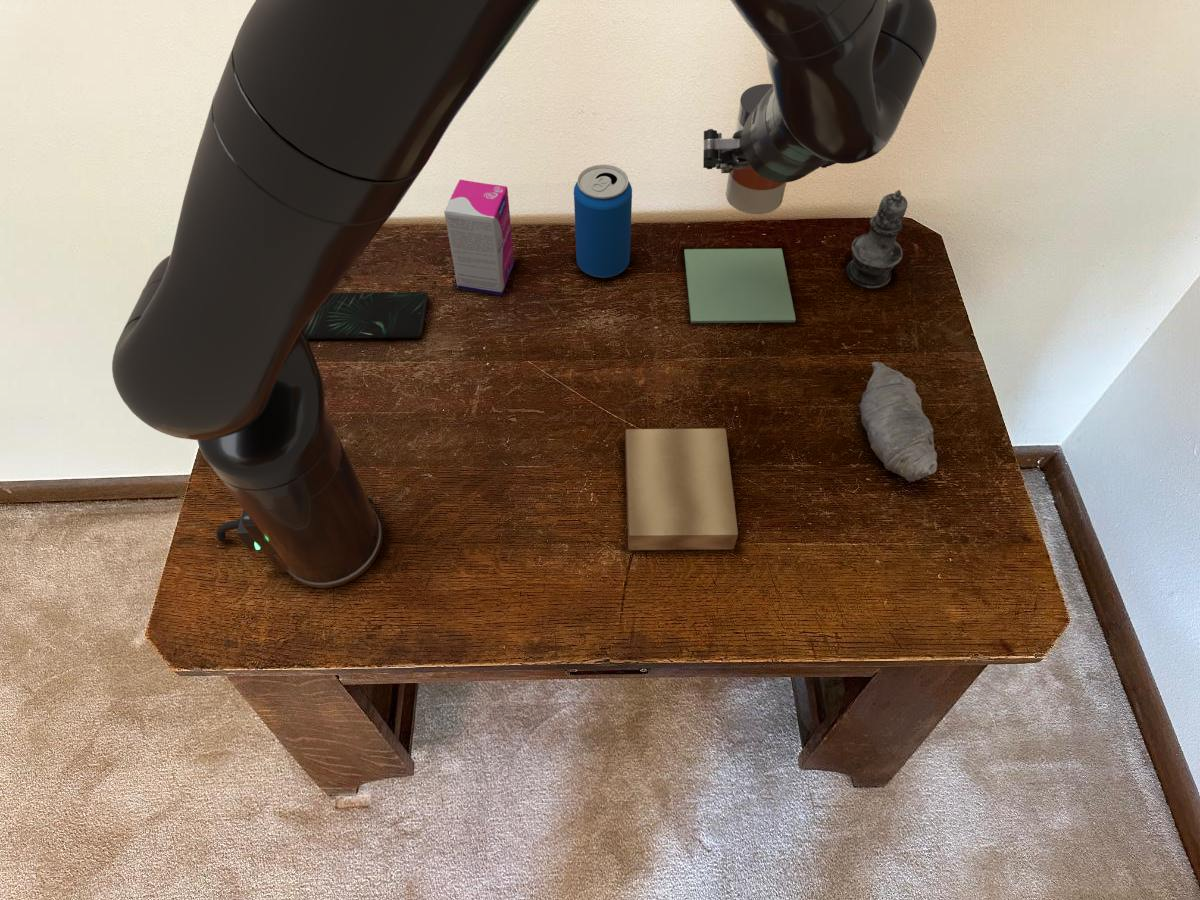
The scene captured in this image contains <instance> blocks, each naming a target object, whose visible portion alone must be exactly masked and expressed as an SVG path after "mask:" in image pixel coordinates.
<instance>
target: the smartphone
mask: <svg viewBox="0 0 1200 900" xmlns="http://www.w3.org/2000/svg"><path fill="white" fill-rule="evenodd" d="M428 301H429V293H428V292H427V291H389V292H388V291H379V292H377V291H376V292H375V291H374V292H373V291H372V292H370V291H369V292H332V293H331V294H330V295H329V297H328V298H327V299H326V300H325V301H324V303H323V304H322V305H321V306H320V307H319V309H318V310H317V311H316V312H315V313H314V315H313V316H312V317H311V318H310V320H309V321H308V322H307V324H306V325H305V326H304V328H303V329H304V332H305V334H306V337H307V339H308V340H327V339H329V340H331V339H335V340H337V339H339V340H340V339H409V338H421V337H422V336H423V330H424V324H425V319H426V314H427V306H428Z"/></svg>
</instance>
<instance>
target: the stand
mask: <svg viewBox="0 0 1200 900" xmlns="http://www.w3.org/2000/svg"><path fill="white" fill-rule="evenodd" d="M624 435H625V436H624V437H625V438H624V439H625V440H624V451H625V452H624V454H625V455H624V457H625V458H624V459H625V489H626V490H625V491H626V522H627V524H626V525H627V526H626V527H627V550H628V551H685V550H687V551H688V550H689V551H690V550H691V551H695V550H696V551H697V550H699V551H701V550H702V551H703V550H705V551H706V550H734V549H735V547H736V543H737V539H738V537H739V528H738V520H737V513H736V503H735V494H734V486H733V479H732V478H733V477H732V471H731V470H732V469H731V462H730V453H729V445H728V437H727V436H728V435H727V429H726V428H725V427H724V428H723V427H722V428H721V427H719V428H717V427H715V428H626V429H625V434H624Z"/></svg>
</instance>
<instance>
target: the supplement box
mask: <svg viewBox="0 0 1200 900" xmlns="http://www.w3.org/2000/svg"><path fill="white" fill-rule="evenodd" d="M508 189H509V188H508V186H506V185H500V184H492V183H484V182H479V181H473V180H466V179H459V180H458V182H457V184H456V186H455V187H454V190H453V192H452V194H451V197H450V198H449V200H448V201H447V202H448V203H447V205H446V207H445V209H444V211H443V212H444V218H445V223H446V229H447V230H446V231H447V235H448V241H449V246H450V252H451V258H452V264H453V269H454V275H455V283H456V288H457V289H458V290H464V291H473V292H478V293H486V294H489V295H490V294H491V295H496V296H497V295H498V296H503V294H504V291H505V287H506V284H507V282H508V279H509V277H510V274H511V272H512V269H513V268H514V266H515V256H514V245H513V235H512V226H511V225H512V223H511V213H510V201H509V192H508Z"/></svg>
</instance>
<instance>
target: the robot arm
mask: <svg viewBox="0 0 1200 900" xmlns="http://www.w3.org/2000/svg"><path fill="white" fill-rule="evenodd" d="M540 1H541V0H255V1H254V3H253V4H252V6H251V7H250V9H249V11H248V13H247V14H246V16H245V18H244V20H243V22H242V23H241V26H240V28H239V30H238V32H237V35H236V37H235V39H234V43H233V45H232V48H231V51H230V53H229V57H228V59H227V61H226V64H225V66H224V69H223V71H222V74H221V76H220V80H219V82H218V84H217V87H216V90H215V92H214V95H213V97H212V100H211V104H210V106H209V107H210V108H209V110H208V114H207V116H206V117H207V118H206V121H205V123H204V126H203V131H202V134H201V137H200V139H199V143H198V146H197V149H196V153H195V156H194V159H193V164H192V167H191V170H190V173H189V178H188V181H187V185H186V188H185V192H184V196H183V199H182V205H181V208H180V212H179V217H178V222H177V226H176V231H175V235H174V240H173V245H172V249H171V252H170V255H167V256H166V257H165V258H163V259H162V260H161V261H160V262H159V263H158V264H157V265H156V266H155V268H153V270H152V272H151V274H150V275H149V277H148V279H147V281H146V283H145V285H144V287H143V289H142V290H141V293H140V294H139V297H138V299H137V301H136V303H135V305H134V308H133V309H132V310H131V313H130V315H129V317H128V319H127V321H126V322H125V325H124V326H123V330H122V331H121V333H120V335H119V337H118V339H117V341H116V345H115V348H114V352H113V355H112V356H113V357H112V361H111V373H112V379H113V383H114V386H115V388H116V391H117V393H118V394H119V397H120V399H121V400H122V401H123V403H124V404H125V405H126V406H127V408H128V409H129V410H130V412H131V413H132V414H134V415H135V416H136V417H137V418H138V419H139V420H140V421H142V422H143V423H144V424H146V425H148V426H149V428H151V429H154V430H156V431H158V432H159V433H162V434H165V435H166V436H170V437H174V438H177V439H184V440H191V441H192V440H193V441H197V445H198V448H199V451H200V453H201V455H202V457H203V458H204V460H205V461H206V463H207V464H208V466H209V467H210V468H211V469H212V471H213V472H214V474H215V475H216V476H217V478H219V480H220V481H221V483H222V484H223V485H224V487H225V488H226V489H227V491H228V492H229V493H230V494H231V495H232V497H233V498H234V500H235V501H236V503H237V504H238V505H239V507H240V508H241V509H242V512H241V516H240V519H235V520H231V521H227V522H225V523H223V524H221V525H219V526H218V528H217V529H216V539H217V541H218V542H224V541H225V540H226V538H227V535H226V532H228V531H231V530H235V529H237V530H236V535H237V536H238V538H240V540H241V541H242V542H243V544H244V545H245V546H246V547H247V548H248V550H256V551H258V550H261V551H262V553H263V554H264V555H265V557H266V558H267V559H268V561H269V562H270V563H271V565H272V566H273V567H274V568H275V569H276V571H277V572H278V573H279V574H289V575H290V576H291V577H292V578H293V579H294V580H296V582H298V583H300V584H302V585H304V586H307V587H311V588H316V589H331V588H336V587H341V586H344V585H346V584H349V583H350V582H353V581H354V580H356V579H357V578H359V577H360V576H362V575H363V574H364V573H365V572H367V570H369V568H371V566H372V565H373V564H374V562H375V561H376V559H377V558H378V556H379V554H380V552H381V549H382V547H383V540H384V532H383V526H382V523H381V521H380V519H379V516H378V514H377V513H376V511H375V510H374V509H373V507H372V506H374V507H375V508H376V507H377V506H376V505H375V502H374V500H372V499H371V498H370V497H369V496H368V495H367V493H366V492H365V490H364V487H363V485H362V484H361V483H362V482H361V481H360V479H359V477H358V475H357V473H356V471H355V468H354V467H353V465H352V463H351V460H350V458H349V456H348V454H347V452H346V450H345V447H344V445H343V443H342V442H341V440H340V437H339V435H338V434H337V431H336V429H335V427H334V425H333V422H332V421H331V419H330V417H329V415H328V413H327V410H326V399H325V398H326V397H325V394H326V393H325V386H324V385H325V384H324V380H323V377H322V374H321V371H320V368H319V366H318V362H317V360H316V358H315V356H314V353H313V350H312V347H311V344H310V343H309V339H307V337H306V334H305V332H304V329H303V328H304V326H305V325H306V324H307V322H308V321H309V320H310V318H311V317H312V316H313V315H314V313H315V312H316V311H317V310H318V309H319V307H320V306H321V305H322V304H323V303H324V301H325V300H326V299H327V298H328V297H329V295H330V294H331V293H334V291H335V290H336V289H337V287H338V285H339V284H340V283H341V282H342V281H343V279H344V278H345V277H346V275H347V274H348V273H349V271H350V270H351V269H352V267H353V266H354V265H355V263H357V261H358V259H359V258H360V257H361V255H362V254H363V253H364V251H365V250H366V248H367V247H368V246H369V244H370V243H371V242H372V240H373V239H374V238H375V236H376V235H377V234H378V232H379V231H380V230H381V229H382V227H383V226H384V224H385V223H386V222H387V221H388V220H389V219H390V217H391V216H392V214H393V213H394V212H395V211H396V208H397V207H399V204H401V202H402V200H403V199H404V197H405V196H406V194H407V193H408V192H409V190H410V188H411V187H412V186H413V184H414V182H415V181H416V180H417V178H418V177H419V175H420V174H421V172H422V171H423V169H425V167H426V165H427V164H428V162H429V161H430V158H431V157H432V155H433V154H434V152H435V150H436V149H437V147H438V146H439V144H440V142H441V141H442V139H443V137H444V135H445V134H446V132H447V130H448V129H449V127H450V126H451V124H452V123H453V121H454V120H455V118H456V117H457V116H458V114H459V112H460V111H461V109H462V108H463V106H464V105H465V104H466V103H467V102H468V100H469V99H470V97H471V96H472V94H473V93H474V92H475V90H476V89H477V87H478V86H479V85H480V83H481V82H482V81H483V79H484V78H485V77H486V75H487V74H488V72H489V71H490V69H491V68H492V67H493V65H494V64H495V63H496V61H497V60H498V59H499V58H500V56H501V55H502V53H503V52H504V51H505V49H506V47H507V46H508V45H509V43H510V42H511V41H512V39H513V37H514V36H515V35H516V34H517V32H518V31H519V30H520V28H521V26H522V25H523V24H524V22H525V21H526V19H528V17H529V15H530V14H531V13H532V11H534V9H535V7H536V6H537V5H538V3H539V2H540ZM729 1H730V3H731V4H732V6H734V8H735V9H736V11H737V12H738V14H739V16H740V17H741V18H742V19H743V21H744V22H745V24H746V25H747V26H748V28H749V29H750V30H751V32H752V33H753V34H754V36H755V37H756V39H757V40H758V41H759V42H760V44H761V45H762V47H763V48H764V49H765V54H766V55H765V56H766V63H767V69H768V72H769V76H770V80H771V84H773V86H772V87H771V88H770V89H769V91H768V92H767V93H766V94H765V95H764V97H763V98H762V99H761V100H760V102H759V103H758V104H757V105H756V107H755V108H754V109H753V110H752V112H751V113H750V115H749V116H748V118H747V120H746V123H745V125H744V128H743V130H740V131H737V132H735V131H734V133H733V135H732V137H729V138H728V137H727V138H723V134H722V132H718V130H716V129H713V128H708V129H707V130H704V131H703V159H702V161H703V164H702V165H703V168H704V169H706V170H712V169H714V168H715V169H716V170H720V173H721V174H729V172H730V171H731V170H732V169H734V170H749V169H754V170H755V171H756V172H757V173H758V174H759V175H761V176H762V177H764V178H766V179H768V180H771V181H774V182H787V183H792V182H796V181H799V180H801V179H803V178H805V177H807V176H808V175H810V174H811V173H813V172H815V171H816V170H818V169H820V168H821V169H826V168H827V167H830V166H833V165H836V164H843V165H845V164H846V165H848V164H856V163H860V162H863V161H866V160H868V159H870V158H872V157H874V156H876V155H878V154H879V153H880V152H881V151H882V150H883V149H885V147H886V146H887V145H888V144H889V142H890V141H891V140H892V138H893V137H894V135H895V133H896V132H897V130H898V127H899V125H900V123H901V121H902V118H903V116H904V114H905V111H906V110H907V109H906V108H907V107H908V104H909V102H910V100H911V98H912V95H913V93H914V91H915V89H916V87H917V84H918V82H919V80H920V78H921V76H922V73H923V71H924V69H925V67H926V64H927V62H928V59H929V57H930V55H931V53H932V50H933V48H934V45H935V41H936V36H937V31H938V30H937V24H938V23H937V15H936V12H935V8H934V6H933V3H932V2H931V0H729Z"/></svg>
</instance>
